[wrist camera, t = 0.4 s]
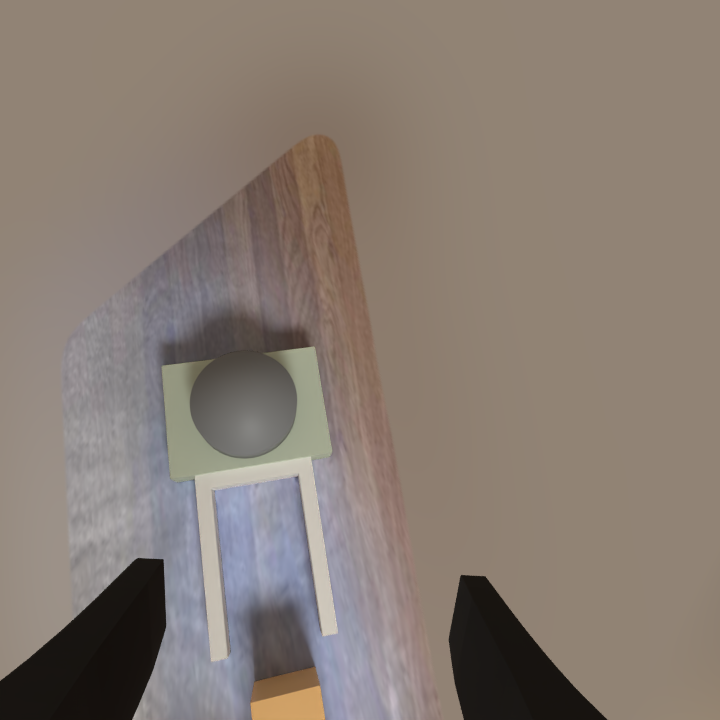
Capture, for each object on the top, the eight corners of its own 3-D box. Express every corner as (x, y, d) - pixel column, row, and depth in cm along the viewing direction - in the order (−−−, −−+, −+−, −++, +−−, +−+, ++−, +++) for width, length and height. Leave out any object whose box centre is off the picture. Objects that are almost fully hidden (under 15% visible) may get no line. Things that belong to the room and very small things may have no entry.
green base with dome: (356, 623, 37) (367, 635, 32) (191, 660, 35) (177, 680, 30) (312, 357, 42) (316, 334, 38) (168, 375, 40) (153, 354, 35)
